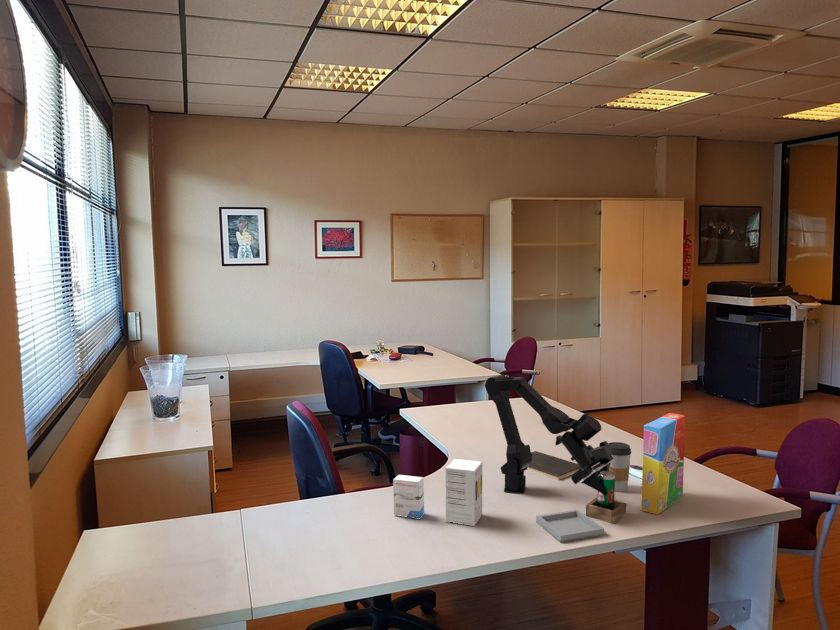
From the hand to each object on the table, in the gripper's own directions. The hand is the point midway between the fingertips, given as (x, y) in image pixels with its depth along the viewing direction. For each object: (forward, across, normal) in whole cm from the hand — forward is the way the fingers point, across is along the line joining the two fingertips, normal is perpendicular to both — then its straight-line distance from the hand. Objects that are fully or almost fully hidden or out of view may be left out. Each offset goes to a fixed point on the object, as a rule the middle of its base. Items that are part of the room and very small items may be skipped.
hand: (610, 491), depth 191 cm
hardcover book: (-19, +27, +32) cm, 46 cm away
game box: (+12, +20, -1) cm, 23 cm away
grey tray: (+2, -16, +9) cm, 18 cm away
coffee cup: (+1, +23, +11) cm, 25 cm away
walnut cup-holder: (+5, 0, +6) cm, 8 cm away
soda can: (+4, 0, +6) cm, 7 cm away
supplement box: (-18, -29, +30) cm, 45 cm away
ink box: (-28, -38, +40) cm, 62 cm away
